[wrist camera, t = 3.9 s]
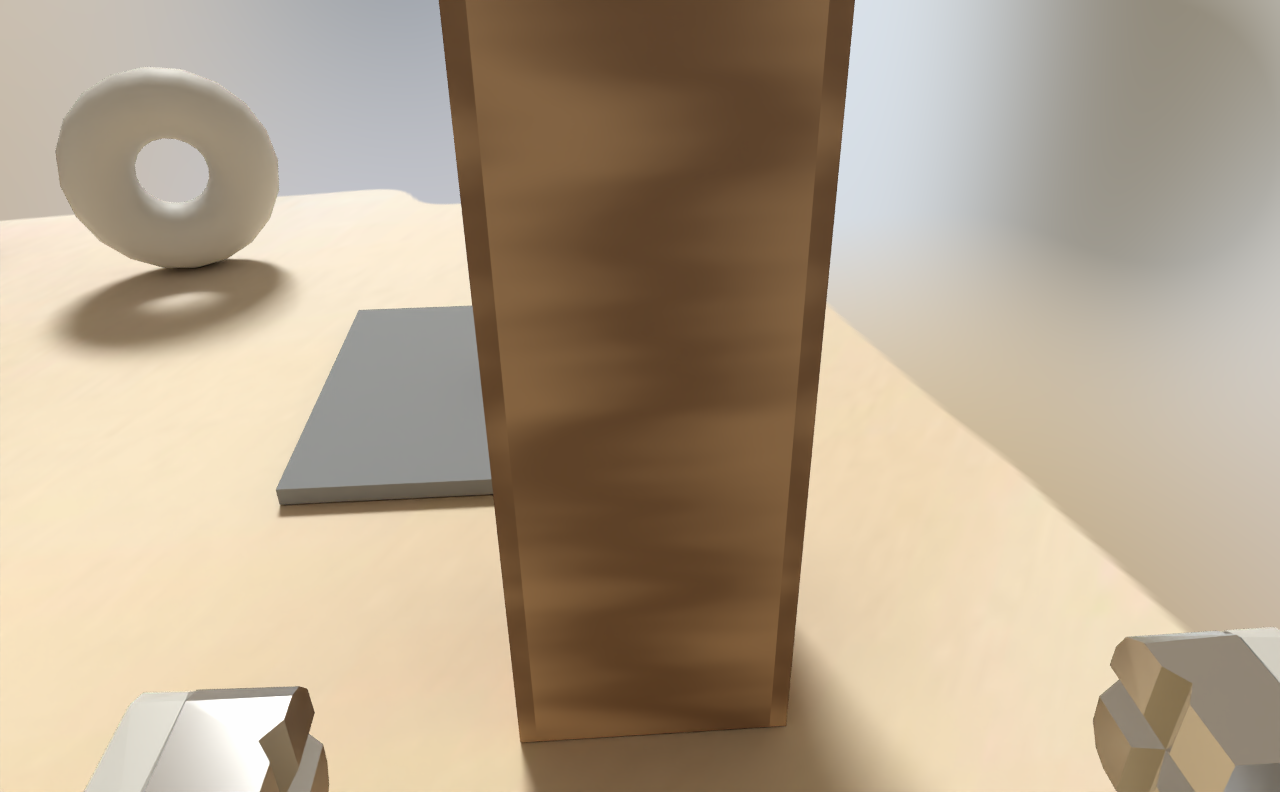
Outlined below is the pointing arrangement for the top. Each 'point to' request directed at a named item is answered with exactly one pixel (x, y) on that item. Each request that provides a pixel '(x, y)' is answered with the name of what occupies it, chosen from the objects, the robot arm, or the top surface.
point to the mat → (396, 414)
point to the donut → (174, 109)
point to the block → (648, 340)
